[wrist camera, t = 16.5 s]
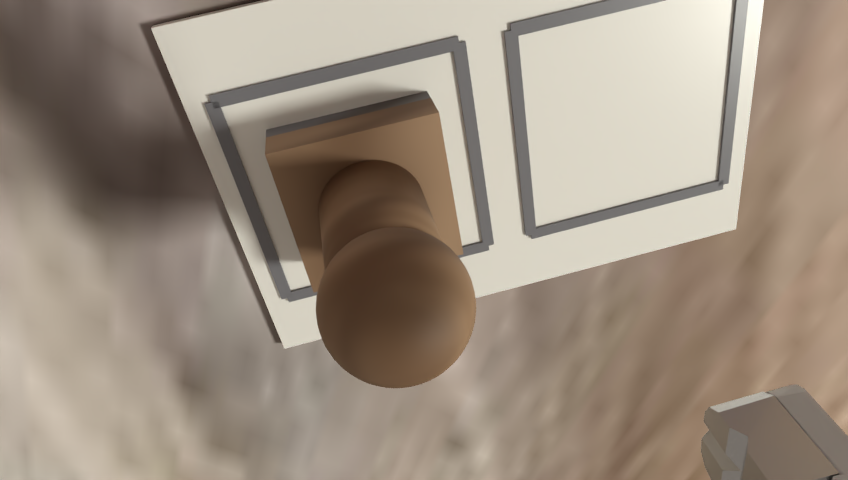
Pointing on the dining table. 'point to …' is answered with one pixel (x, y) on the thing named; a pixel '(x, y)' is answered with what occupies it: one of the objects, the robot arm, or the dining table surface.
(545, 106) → the print card
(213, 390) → the dining table surface
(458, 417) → the dining table surface
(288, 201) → the stamp
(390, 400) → the dining table surface
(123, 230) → the dining table surface
